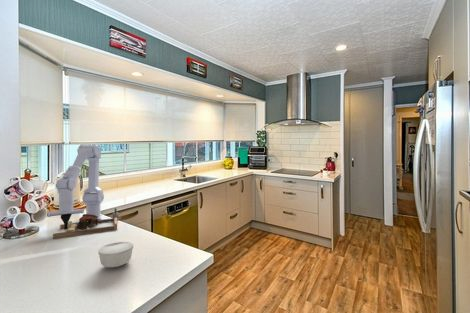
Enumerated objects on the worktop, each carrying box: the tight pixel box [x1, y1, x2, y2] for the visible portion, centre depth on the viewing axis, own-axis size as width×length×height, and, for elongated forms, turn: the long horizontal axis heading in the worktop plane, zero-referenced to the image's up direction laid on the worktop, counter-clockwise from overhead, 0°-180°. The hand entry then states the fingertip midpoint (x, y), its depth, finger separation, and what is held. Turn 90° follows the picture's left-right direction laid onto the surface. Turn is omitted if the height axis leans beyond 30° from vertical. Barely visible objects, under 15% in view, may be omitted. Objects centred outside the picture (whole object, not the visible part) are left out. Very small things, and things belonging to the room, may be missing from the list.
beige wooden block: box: [66, 220, 77, 232], centre depth 114 cm, size 11×3×4 cm, turn 28°
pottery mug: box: [76, 213, 99, 231], centre depth 119 cm, size 12×9×8 cm
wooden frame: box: [52, 207, 119, 239], centre depth 118 cm, size 18×27×8 cm, turn 118°
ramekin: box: [97, 241, 134, 268], centre depth 81 cm, size 11×11×5 cm
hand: (66, 229), depth 113 cm, fingers closed
